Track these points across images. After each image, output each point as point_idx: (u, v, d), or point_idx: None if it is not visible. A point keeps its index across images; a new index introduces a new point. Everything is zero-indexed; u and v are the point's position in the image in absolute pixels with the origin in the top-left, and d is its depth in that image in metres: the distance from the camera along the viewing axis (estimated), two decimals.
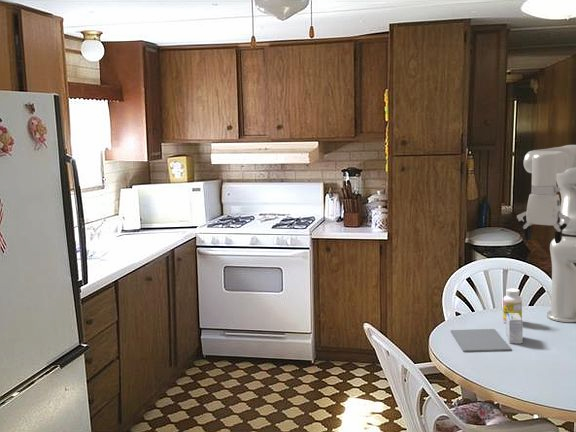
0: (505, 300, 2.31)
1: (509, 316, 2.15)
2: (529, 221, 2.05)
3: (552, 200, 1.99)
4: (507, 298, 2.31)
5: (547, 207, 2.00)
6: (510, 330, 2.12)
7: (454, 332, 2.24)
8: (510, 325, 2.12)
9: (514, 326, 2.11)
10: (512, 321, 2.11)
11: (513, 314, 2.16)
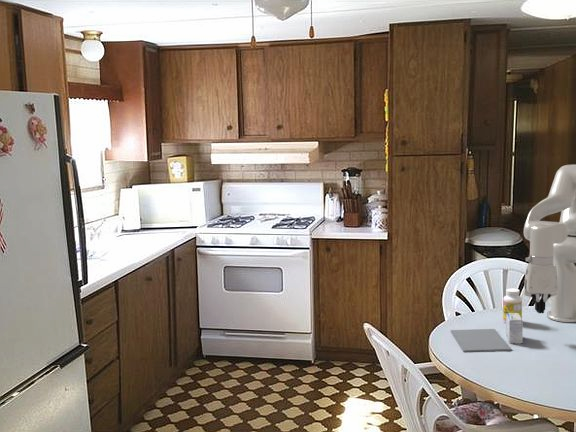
0: (505, 300, 2.31)
1: (509, 316, 2.15)
2: None
3: None
4: (507, 298, 2.31)
5: None
6: (510, 330, 2.12)
7: (454, 332, 2.24)
8: (510, 325, 2.12)
9: (514, 326, 2.11)
10: (512, 321, 2.11)
11: (513, 314, 2.16)
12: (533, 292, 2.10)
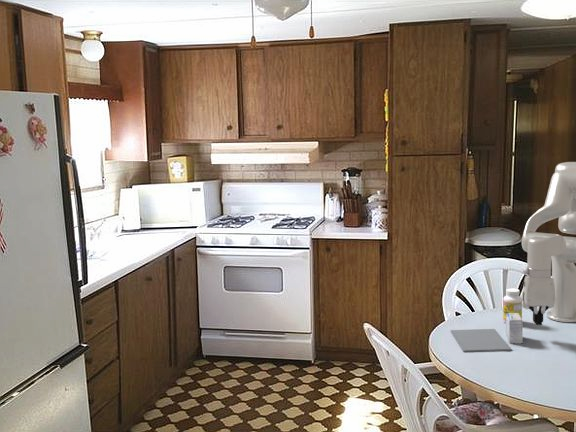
0: (505, 300, 2.31)
1: (509, 316, 2.15)
2: None
3: None
4: (507, 298, 2.31)
5: None
6: (510, 330, 2.12)
7: (454, 332, 2.24)
8: (510, 325, 2.12)
9: (514, 326, 2.11)
10: (512, 321, 2.11)
11: (513, 314, 2.16)
12: (531, 304, 2.11)
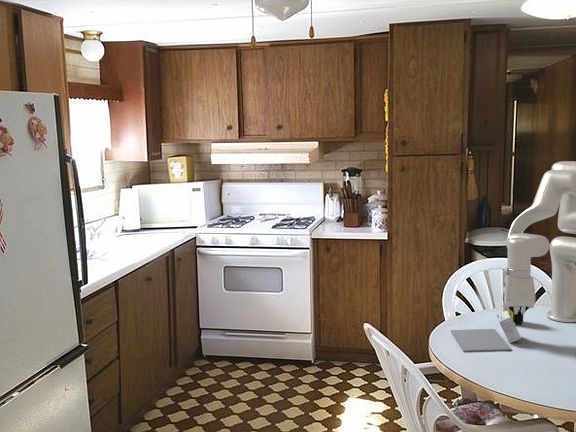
0: None
1: (499, 317, 2.16)
2: None
3: None
4: None
5: None
6: (504, 331, 2.12)
7: (454, 332, 2.24)
8: (502, 326, 2.12)
9: (506, 325, 2.12)
10: (502, 321, 2.12)
11: (502, 314, 2.17)
12: (511, 305, 2.11)
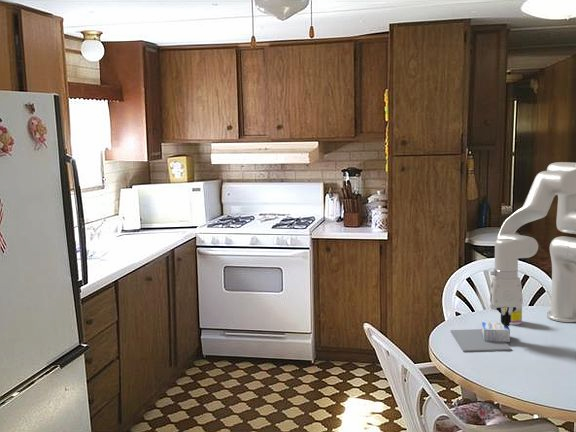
0: None
1: None
2: None
3: None
4: None
5: None
6: (495, 340, 2.13)
7: (454, 332, 2.24)
8: (490, 340, 2.14)
9: (491, 336, 2.13)
10: (485, 338, 2.14)
11: (482, 329, 2.19)
12: (498, 306, 2.11)
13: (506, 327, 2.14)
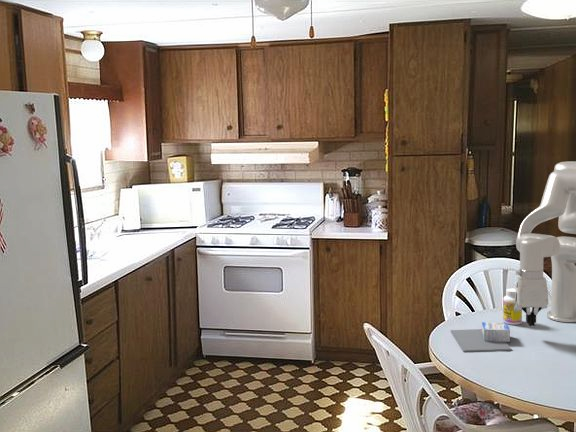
0: (505, 300, 2.31)
1: None
2: None
3: None
4: (507, 298, 2.31)
5: None
6: (495, 340, 2.13)
7: (454, 332, 2.24)
8: (490, 340, 2.14)
9: (491, 336, 2.13)
10: (485, 338, 2.14)
11: (482, 329, 2.19)
12: (523, 305, 2.11)
13: (506, 327, 2.14)
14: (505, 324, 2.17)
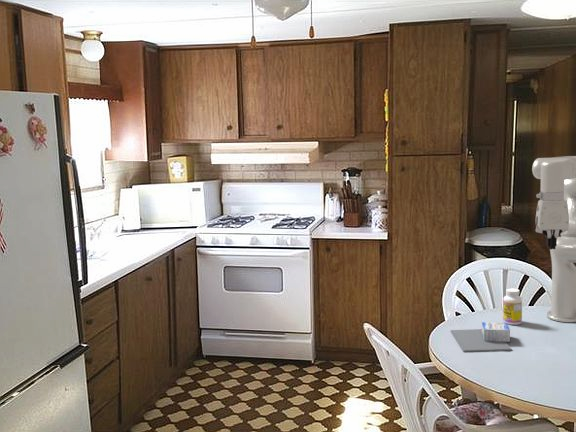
0: (505, 300, 2.31)
1: None
2: None
3: None
4: (507, 298, 2.31)
5: None
6: (495, 340, 2.13)
7: (454, 332, 2.24)
8: (490, 340, 2.14)
9: (491, 336, 2.13)
10: (485, 338, 2.14)
11: (482, 329, 2.19)
12: (544, 228, 2.10)
13: (506, 327, 2.14)
14: (505, 324, 2.17)
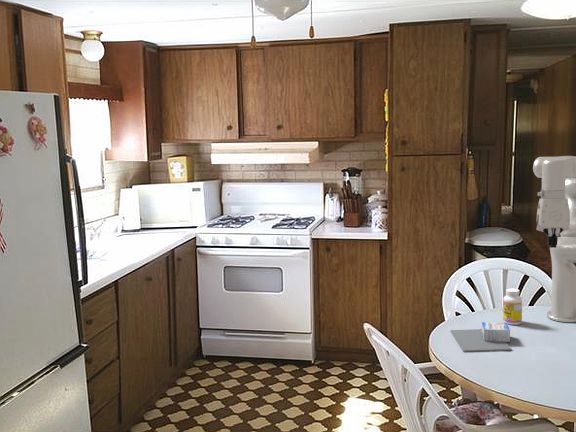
0: (505, 300, 2.31)
1: None
2: None
3: None
4: (507, 298, 2.31)
5: None
6: (495, 340, 2.13)
7: (454, 332, 2.24)
8: (490, 340, 2.14)
9: (491, 336, 2.13)
10: (485, 338, 2.14)
11: (482, 329, 2.19)
12: (545, 226, 2.10)
13: (506, 327, 2.14)
14: (505, 324, 2.17)
